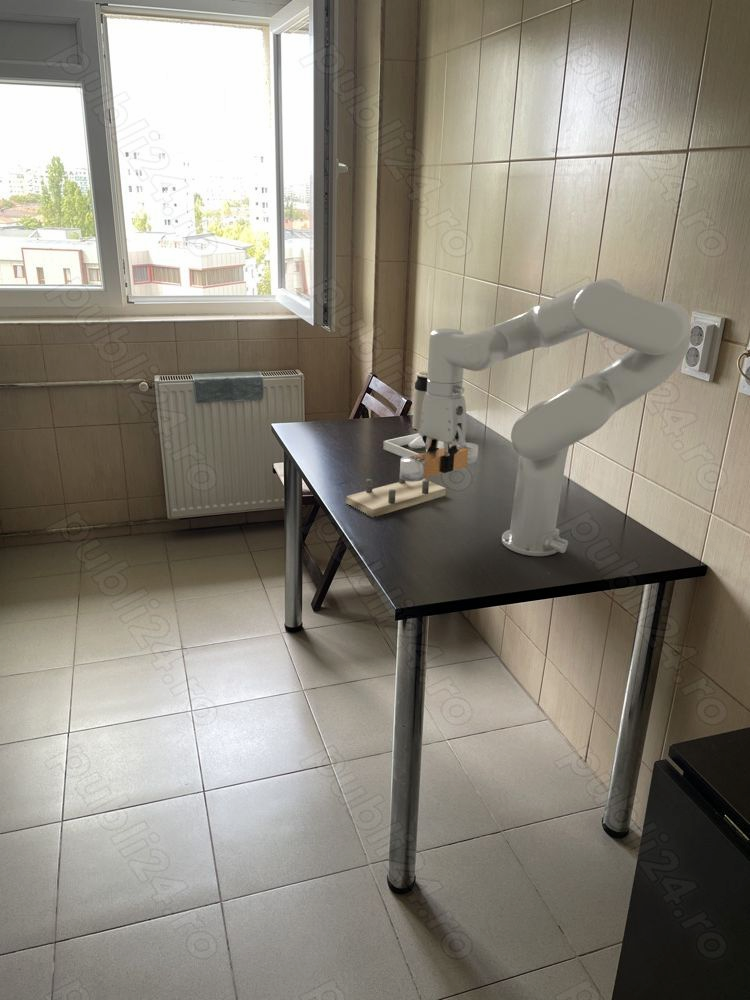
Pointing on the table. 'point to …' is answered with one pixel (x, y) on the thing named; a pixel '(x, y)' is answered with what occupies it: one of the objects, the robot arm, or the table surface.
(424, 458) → the orange dumbbell
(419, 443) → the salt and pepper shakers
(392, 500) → the tool rack
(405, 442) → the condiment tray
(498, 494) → the table surface
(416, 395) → the travel mug
